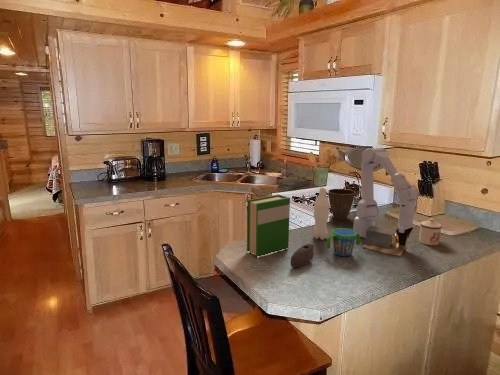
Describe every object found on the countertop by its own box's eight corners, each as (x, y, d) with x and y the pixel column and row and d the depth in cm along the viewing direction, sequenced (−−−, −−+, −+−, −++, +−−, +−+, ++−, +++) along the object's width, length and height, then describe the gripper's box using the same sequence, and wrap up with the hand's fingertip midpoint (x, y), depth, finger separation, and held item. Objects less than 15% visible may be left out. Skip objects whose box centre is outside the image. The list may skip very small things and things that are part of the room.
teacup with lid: (432, 247, 159) (435, 223, 156) (414, 241, 166) (416, 217, 164) (446, 242, 165) (450, 219, 163) (428, 236, 173) (431, 214, 170)
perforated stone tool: (296, 272, 133) (296, 255, 132) (285, 268, 137) (285, 251, 135) (316, 260, 144) (317, 244, 143) (306, 256, 148) (306, 241, 146)
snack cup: (353, 247, 157) (354, 226, 155) (365, 257, 147) (367, 234, 145) (321, 250, 154) (322, 228, 152) (331, 260, 144) (332, 237, 142)
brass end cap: (369, 244, 159) (371, 228, 158) (373, 240, 164) (375, 225, 163) (404, 252, 151) (406, 235, 149) (407, 247, 156) (409, 231, 154)
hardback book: (257, 258, 145) (257, 203, 140) (246, 253, 151) (247, 199, 145) (288, 249, 155) (290, 197, 150) (277, 244, 161) (278, 194, 156)
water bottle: (311, 239, 167) (313, 189, 162) (314, 234, 174) (316, 186, 168) (326, 241, 165) (329, 190, 159) (328, 236, 171) (331, 187, 166)
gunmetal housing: (365, 244, 160) (366, 229, 159) (369, 239, 166) (371, 225, 164) (390, 249, 154) (391, 234, 153) (393, 244, 160) (395, 230, 158)
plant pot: (321, 216, 204) (322, 190, 201) (341, 213, 211) (342, 187, 207) (338, 223, 191) (340, 195, 188) (358, 219, 198) (360, 192, 195)
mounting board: (362, 247, 158) (362, 246, 157) (371, 238, 169) (371, 237, 169) (400, 256, 149) (400, 254, 149) (406, 246, 160) (407, 245, 160)
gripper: (412, 220, 143) (409, 250, 146) (419, 212, 154) (415, 240, 157) (395, 217, 147) (391, 247, 150) (402, 209, 158) (399, 237, 161)
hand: (403, 243), depth 154 cm, fingers closed on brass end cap, 4 cm apart
